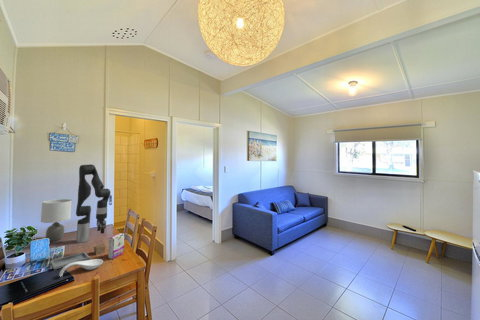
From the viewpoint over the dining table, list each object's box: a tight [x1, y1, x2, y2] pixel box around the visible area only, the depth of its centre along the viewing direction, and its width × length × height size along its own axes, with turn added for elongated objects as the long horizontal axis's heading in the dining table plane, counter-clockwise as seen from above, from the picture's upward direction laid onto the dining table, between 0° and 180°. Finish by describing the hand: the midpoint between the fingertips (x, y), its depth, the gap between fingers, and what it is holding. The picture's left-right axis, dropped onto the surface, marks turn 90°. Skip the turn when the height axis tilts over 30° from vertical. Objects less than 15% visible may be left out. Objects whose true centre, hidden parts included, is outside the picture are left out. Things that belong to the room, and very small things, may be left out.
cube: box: [93, 243, 106, 256], centre depth 161 cm, size 6×6×6 cm
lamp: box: [40, 198, 72, 242], centre depth 184 cm, size 21×21×37 cm
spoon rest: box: [58, 258, 104, 277], centre depth 134 cm, size 24×12×7 cm, turn 140°
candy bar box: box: [107, 232, 126, 260], centre depth 157 cm, size 11×5×16 cm, turn 168°
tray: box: [50, 251, 91, 270], centre depth 144 cm, size 14×20×2 cm
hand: (100, 232), depth 161 cm, fingers open, 8 cm apart
